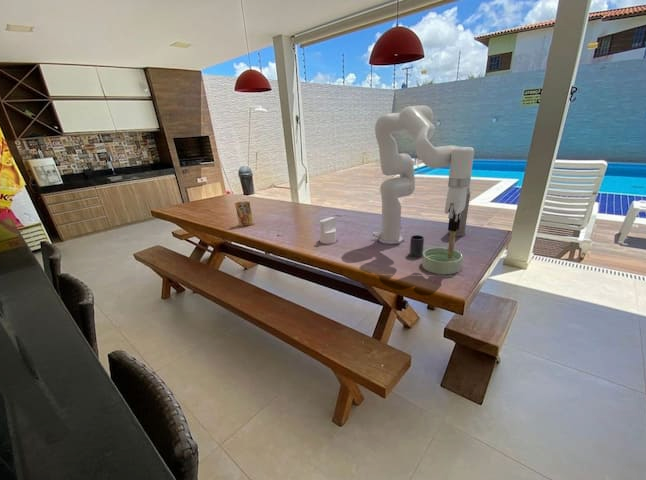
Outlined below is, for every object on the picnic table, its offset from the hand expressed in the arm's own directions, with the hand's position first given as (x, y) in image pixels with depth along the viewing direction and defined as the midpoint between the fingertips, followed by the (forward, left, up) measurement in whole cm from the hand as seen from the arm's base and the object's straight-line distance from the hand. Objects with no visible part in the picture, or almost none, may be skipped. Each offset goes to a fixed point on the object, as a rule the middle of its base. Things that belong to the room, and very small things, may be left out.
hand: (453, 229), depth 122 cm
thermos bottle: (+12, +42, -17) cm, 47 cm away
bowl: (-3, 0, -17) cm, 17 cm away
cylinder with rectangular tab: (-56, +31, -17) cm, 66 cm away
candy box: (-115, +60, -17) cm, 131 cm away
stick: (0, 0, -13) cm, 13 cm away
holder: (-12, +12, -17) cm, 24 cm away
